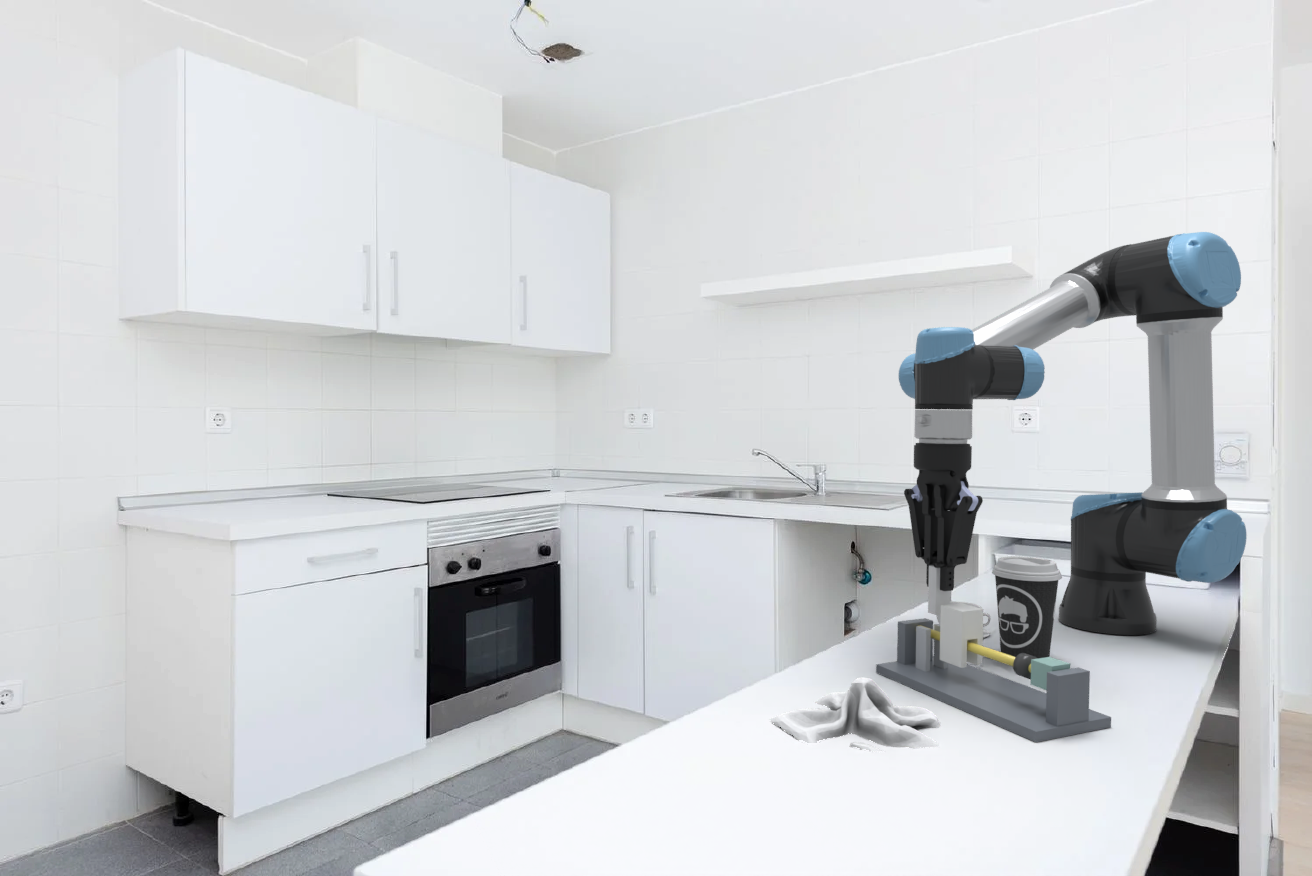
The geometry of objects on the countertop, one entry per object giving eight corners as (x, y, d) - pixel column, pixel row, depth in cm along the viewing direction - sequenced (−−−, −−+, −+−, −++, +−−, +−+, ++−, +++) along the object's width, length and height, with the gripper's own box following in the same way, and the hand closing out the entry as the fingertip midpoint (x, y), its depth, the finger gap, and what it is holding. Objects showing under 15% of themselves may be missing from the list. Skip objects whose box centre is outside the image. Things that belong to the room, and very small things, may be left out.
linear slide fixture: (876, 672, 123) (877, 619, 122) (942, 663, 127) (943, 612, 127) (1035, 742, 97) (1037, 676, 97) (1111, 727, 102) (1112, 663, 102)
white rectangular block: (939, 659, 117) (940, 605, 117) (960, 656, 118) (961, 603, 118) (961, 668, 113) (962, 611, 113) (982, 664, 115) (983, 609, 114)
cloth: (750, 738, 99) (751, 685, 99) (812, 694, 115) (812, 648, 115) (950, 784, 88) (951, 723, 87) (988, 727, 103) (989, 676, 103)
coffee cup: (1067, 673, 123) (1070, 568, 123) (996, 668, 125) (998, 565, 125) (1051, 654, 132) (1053, 556, 132) (985, 650, 134) (986, 554, 134)
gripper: (889, 440, 123) (886, 605, 124) (955, 443, 111) (951, 626, 112) (931, 439, 126) (928, 601, 127) (999, 443, 114) (996, 621, 115)
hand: (939, 612), depth 119 cm, fingers closed
